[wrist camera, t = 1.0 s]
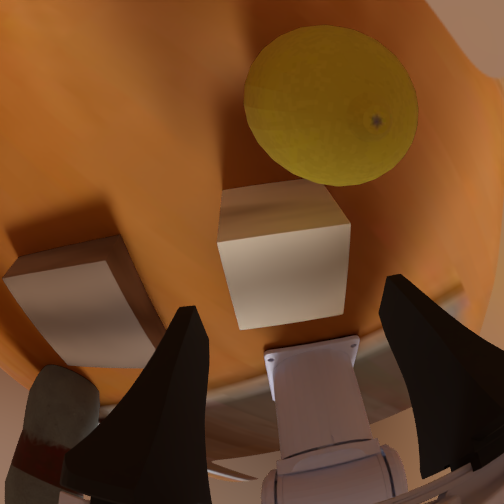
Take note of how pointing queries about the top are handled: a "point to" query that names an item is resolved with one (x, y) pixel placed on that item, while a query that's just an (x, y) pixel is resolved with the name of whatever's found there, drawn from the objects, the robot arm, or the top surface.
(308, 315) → the maple cube
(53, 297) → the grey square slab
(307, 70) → the lemon
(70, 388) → the bottle
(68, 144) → the top surface
